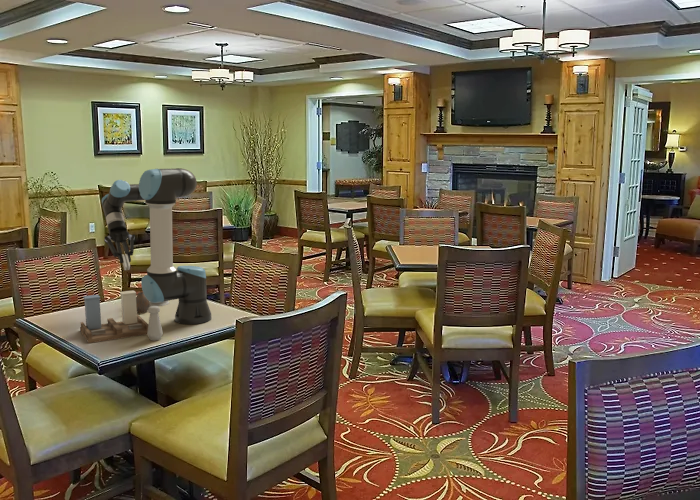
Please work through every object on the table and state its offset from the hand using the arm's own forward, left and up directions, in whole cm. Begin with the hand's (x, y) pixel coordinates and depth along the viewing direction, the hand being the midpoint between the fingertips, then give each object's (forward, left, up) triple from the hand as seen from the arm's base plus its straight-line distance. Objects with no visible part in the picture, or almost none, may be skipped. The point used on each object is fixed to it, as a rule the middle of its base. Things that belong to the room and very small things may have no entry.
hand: (127, 268), depth 265 cm
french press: (+2, -26, -22) cm, 34 cm away
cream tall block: (-7, +11, -20) cm, 24 cm away
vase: (+1, -11, -22) cm, 25 cm away
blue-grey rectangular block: (+3, +21, -20) cm, 29 cm away
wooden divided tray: (-5, +19, -22) cm, 30 cm away
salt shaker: (-25, +23, -22) cm, 41 cm away
